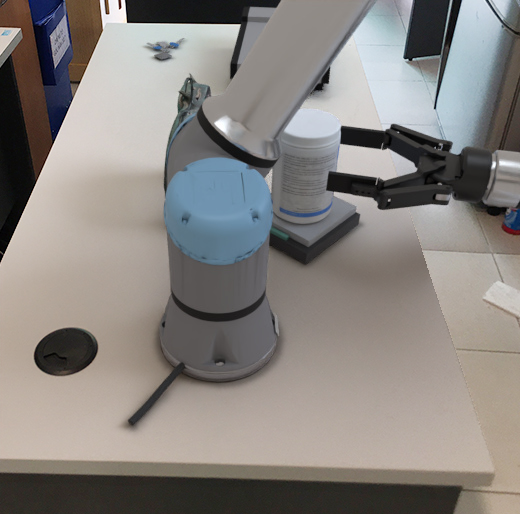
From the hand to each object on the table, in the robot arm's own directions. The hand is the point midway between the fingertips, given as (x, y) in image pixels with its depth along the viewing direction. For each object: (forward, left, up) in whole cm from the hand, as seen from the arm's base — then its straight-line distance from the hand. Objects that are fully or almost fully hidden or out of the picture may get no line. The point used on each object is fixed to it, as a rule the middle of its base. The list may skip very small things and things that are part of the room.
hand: (333, 156), depth 91 cm
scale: (-2, +4, -13) cm, 14 cm away
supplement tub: (-2, +4, -10) cm, 11 cm away
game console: (+45, +45, -13) cm, 65 cm away
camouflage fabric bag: (-8, +22, -13) cm, 27 cm away
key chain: (+33, +74, -13) cm, 82 cm away
